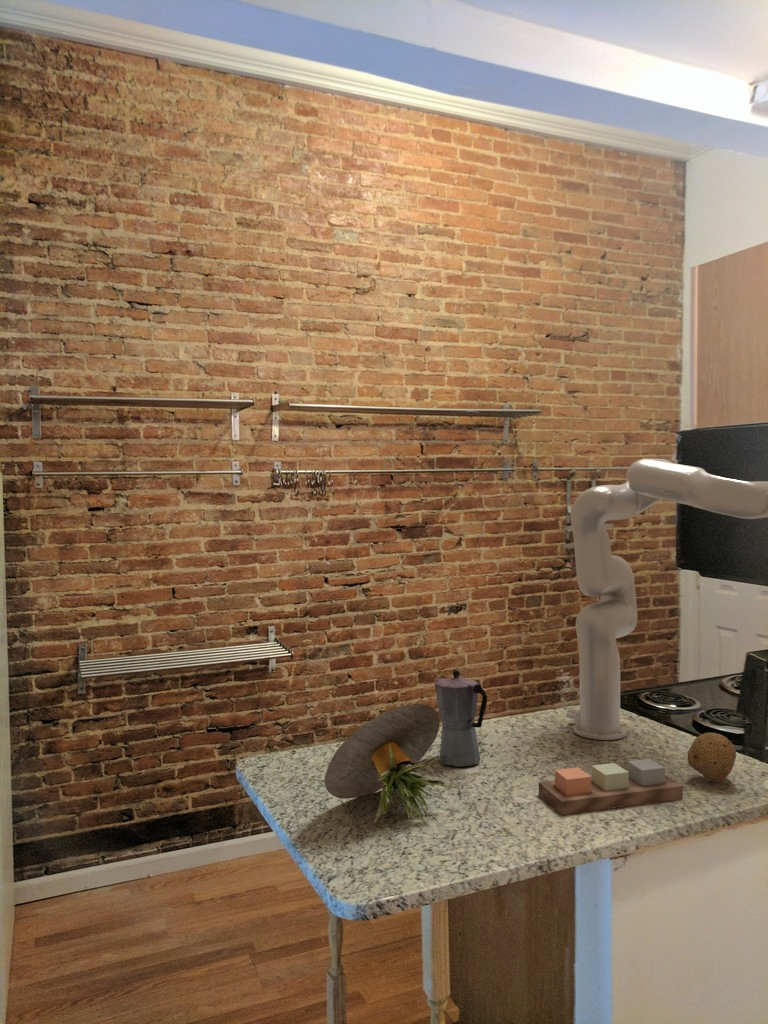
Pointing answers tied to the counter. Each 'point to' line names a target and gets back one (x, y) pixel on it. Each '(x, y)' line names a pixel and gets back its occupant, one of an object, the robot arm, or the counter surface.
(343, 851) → the counter surface
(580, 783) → the terracotta button
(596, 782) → the sage button
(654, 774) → the slate button
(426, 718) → the potted plant
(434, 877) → the counter surface
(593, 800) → the walnut panel
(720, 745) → the natural sponge
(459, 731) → the moka pot
